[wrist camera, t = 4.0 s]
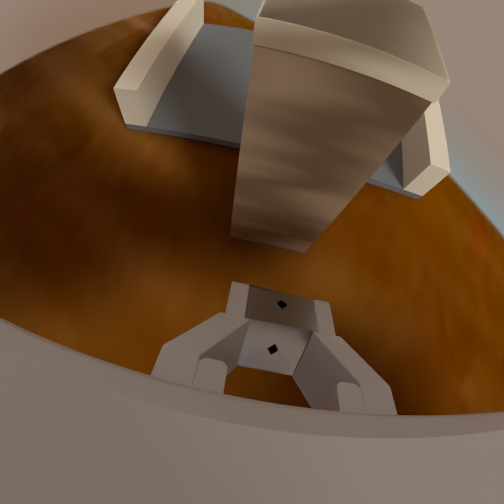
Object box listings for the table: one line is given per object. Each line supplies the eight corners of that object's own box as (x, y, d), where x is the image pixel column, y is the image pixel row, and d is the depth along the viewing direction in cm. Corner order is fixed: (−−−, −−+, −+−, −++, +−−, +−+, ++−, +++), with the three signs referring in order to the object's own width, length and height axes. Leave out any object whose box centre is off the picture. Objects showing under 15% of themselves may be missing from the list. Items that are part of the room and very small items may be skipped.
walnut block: (228, 237, 19) (255, 17, 5) (243, 176, 20) (283, -40, 7) (304, 254, 19) (450, 83, 6) (313, 193, 20) (422, 6, 7)
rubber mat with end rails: (127, 128, 20) (113, 88, 16) (186, 26, 24) (185, -10, 20) (417, 199, 21) (450, 172, 17) (407, 82, 25) (426, 52, 21)
